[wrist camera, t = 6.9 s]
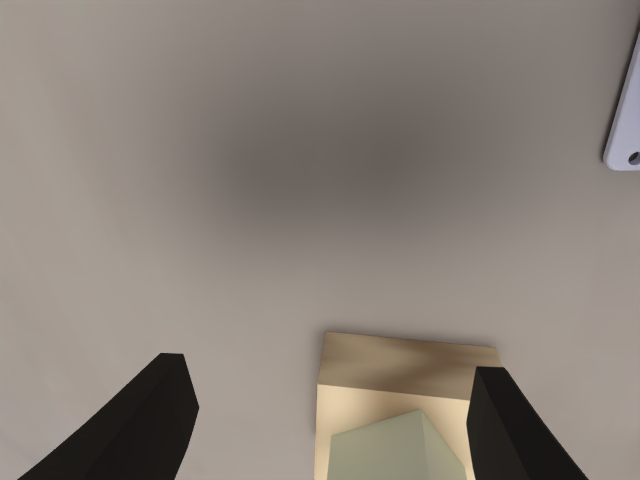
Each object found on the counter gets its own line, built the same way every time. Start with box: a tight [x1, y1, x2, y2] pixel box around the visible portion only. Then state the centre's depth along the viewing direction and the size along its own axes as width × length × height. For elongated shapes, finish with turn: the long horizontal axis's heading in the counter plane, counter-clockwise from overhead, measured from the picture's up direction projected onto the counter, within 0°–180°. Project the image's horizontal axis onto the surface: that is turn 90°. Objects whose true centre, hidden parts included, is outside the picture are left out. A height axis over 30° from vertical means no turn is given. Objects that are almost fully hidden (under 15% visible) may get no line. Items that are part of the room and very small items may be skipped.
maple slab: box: [314, 332, 502, 480], centre depth 23 cm, size 9×9×4 cm
